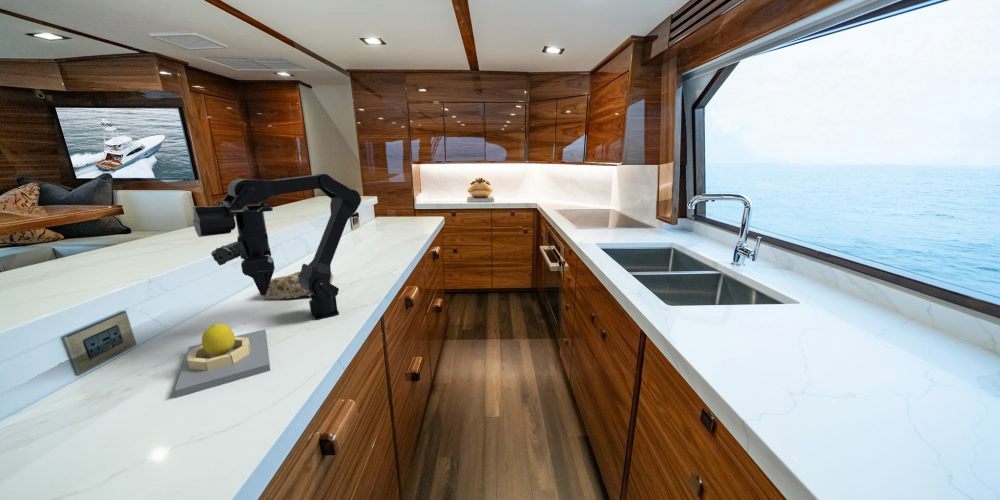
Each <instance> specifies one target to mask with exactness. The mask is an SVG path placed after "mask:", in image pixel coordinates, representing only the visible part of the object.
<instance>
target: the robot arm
mask: <svg viewBox="0 0 1000 500" xmlns="http://www.w3.org/2000/svg"><path fill="white" fill-rule="evenodd" d="M317 189H319V191H320V192H322V193H323V194H324V195H325V196H326V197H328V198H329V199H330V204H329V205H330V206H329V207H330V208H329V209H330V216H329V218H328V221H327V223H326V226H325V229H324V231H323V234H322V237H321V239H320V241H319V244H318V247H317V249H316V252H315V254H314V257H313V259H312V260H311V261H310V262H309V263H308V264H306V263H303V264H302V265H301V270H300V271H301V272H300V271H299V272H300V274H299V275H298V276H297V277H299V284H300V286H301V287H302V288H303V289H305V290H307V292H308V293H309V294H312V295H310V296H309V297H310V299H309V301H308V304H309V311H310V315H311V316H312V317H313V319H314V320H316V321H317V320H320V319H326V318H328V317H334V316H337V315H340V312H339V310H338V305H337V304H338V303H337V296H338V294H339V292H340V291H339V290H340V289H339V287H337V286H336V285H334V284H332V283H331V284H330V279H331V273H332V268H331V264H332V262H333V259H334V257H335V254H336V253H337V252H336V251H337V248H338V246H339V243H340V241H341V238H342V236H343V233H344V230H345V228H346V225H347V222H348V221H349V219H350V218H351V217H352V216H354V214H355V213H356V212H357V210H358V208H359V207H360V205H361V204H362V197H361V195H360V192H358V191H357V190H355V189H352V188H350V187H349V186H347V185H344V184H343V183H341V182H340V181H338V180H336V179H335V178H333V177H331V176H330V175H329V174H327V173H315V174H310V175H305V176H294V177H286V178H277V179H270V180H269V179H249V178H248V179H247V178H237V179H234V180H232V181H230V182H229V184H228V186H227V194H226V195H225V197H224V198H223V200H222V201H221V202H220V204H219V205H212V206H210V205H209V206H204V205H203V206H202V205H200V206H199V205H197V206H196V205H195V206H193V220H192V223H193V227H194V229H195V233H196V235H197V236H198V237H199V238H203V237H210V236H212V237H213V236H219V235H220V236H221V235H227V234H229V235H230V234H231V233H232V231H234V230H235V229H236V227H237V234H238V236H237V241H233V242H231V243H229V244H226V245H222V246H219V247H216V248H215V249H214V250H212V251H211V253H210V255H211V256H212V258H213V260H214V261H215V262H216V263H217V264H218V266H223V265H225V264H226V263H228V262H230V261H232V260H235V259H237V258H239V257H240V259H241V260H242V259H243V260H242V261H241V264H240V266H241V270H242V271H241V272H242V274H243V275H245V276H247V277H250V278H252V280H253V281H254V284H255V286H256V288H257V290H258V292H259V295H260V296H263V295H266V294H267V291H268V287H269V284H270V281H271V279H273V274H274V272H275V268H276V267H275V260H274V258H273V257H272V252H271V247H270V243H269V236H268V230H267V225H266V219H265V215H264V212H266V213H267V212H272V211H274V208H273V207H271V206H269V205H268V204H267V203H266V202H264V201H267V200H270V199H272V198H274V197H277V196H279V195H284V194H291V193H299V192H305V191H311V190H317ZM257 203H258V204H257Z"/></svg>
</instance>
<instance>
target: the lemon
mask: <svg viewBox="0 0 1000 500" xmlns="http://www.w3.org/2000/svg"><path fill="white" fill-rule="evenodd" d="M234 336H235V335H234V332H233V329H232V328H231V327H229V326H228V325H227V324H223V323H213V324H212V325H210V326H209V327H207V328H206V329H205V330H204V331H203V333H202V337H201V344H202V346H203V348H204V350H205V351H206V352H207V353H208V354H210V355H214V356H222V355H225V353H227V352H229V351H230V350H231V349H232V347H233V345H234V342H235V337H234Z"/></svg>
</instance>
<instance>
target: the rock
mask: <svg viewBox="0 0 1000 500" xmlns="http://www.w3.org/2000/svg"><path fill="white" fill-rule="evenodd" d="M300 272H301V270H300V271H297V272H294V273H292V274H289V275H284V276H283V275H282V276H279V277H275V278H271V281H270V284H269V287H268V291H267V294H266V295H262V296H263V299H265V300H268V301H270V300H283V299H296V298H300V297H303V296H308V297H311V296H310V295H312V294H309V293H308V292H307V290H305V289H303V288H302V287H301V286H300V284H299V277H297V276H298V275H299V274H300ZM333 279H334V275H333V273H332V272H331V279H330V284H332V283H333Z"/></svg>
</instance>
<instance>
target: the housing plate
mask: <svg viewBox="0 0 1000 500" xmlns="http://www.w3.org/2000/svg"><path fill="white" fill-rule="evenodd" d="M234 337H235V342H234V345H233V347H232V349H231V350H230V351H229V352H227V353H225V355H222V356H214V355H210V354H208V353H207V352H206V351H205V350H204V348H203V346H202V343H199V344H196V345H190V346H188V348H187V351H186V355H185V357H184V360H183V363H182V366H181V370H180V372H179V377H178V379H177V382H176V385H175V388H174V393H175V397H176V398H179V397H183V396H186V395H190V394H193V393H197V392H201V391H204V390H206V389H210V388H215V387H218V386H221V385H224V384H227V383H231V382H234V381H239V380H241V379H245V378H249V377H252V376H255V375H256V376H257V375H259V374H263V373H266V372H269V371H270V372H271V363H270V354H269V347H268V339H267V338H268V337H267V332H266V329H265V328H264V329H261V330H255V331H252V332H248V333H244V334H243V333H242V334H238V335H234Z"/></svg>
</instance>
